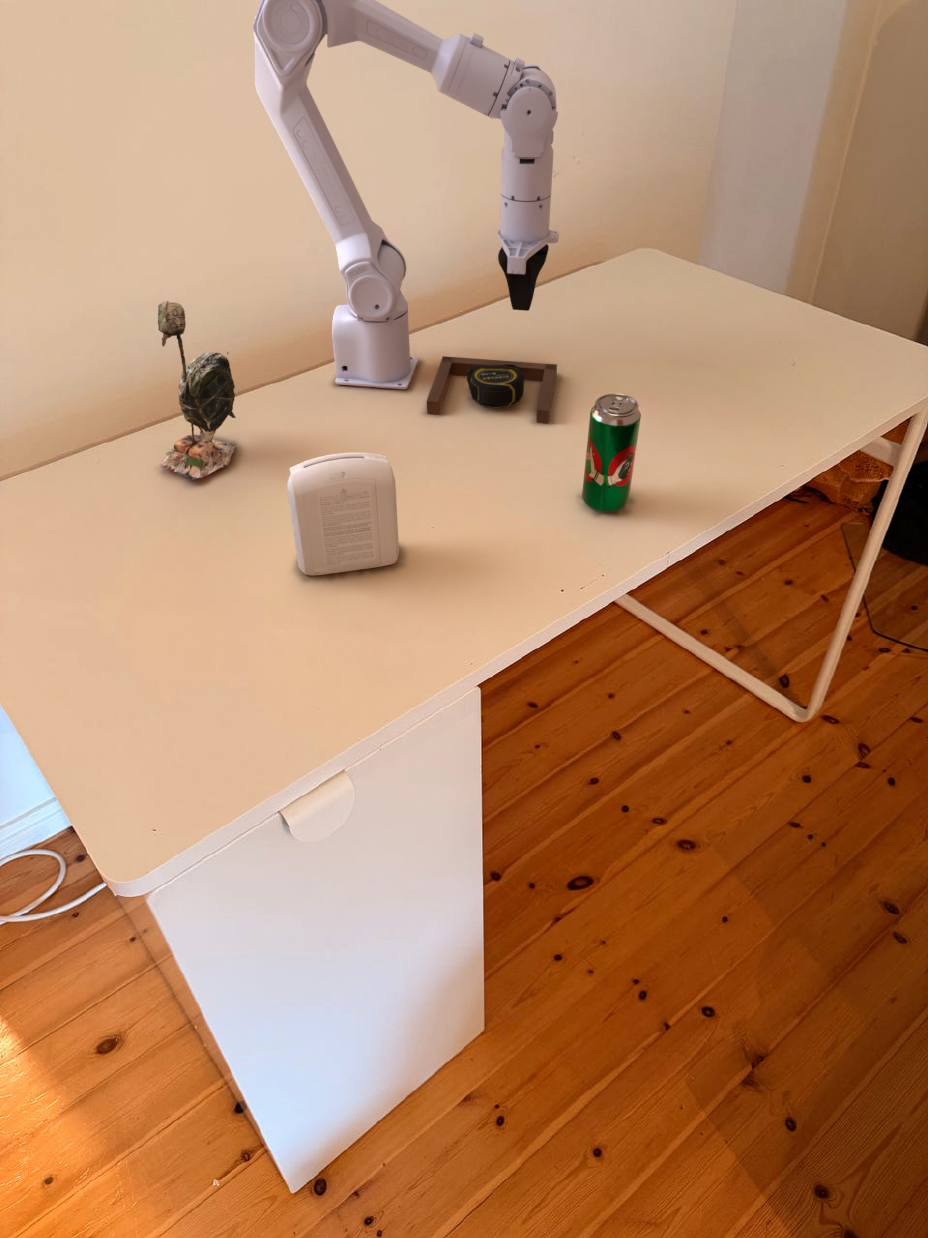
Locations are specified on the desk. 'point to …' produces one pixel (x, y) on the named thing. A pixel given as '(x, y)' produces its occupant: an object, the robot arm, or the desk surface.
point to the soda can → (610, 452)
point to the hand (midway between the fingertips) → (521, 307)
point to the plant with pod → (199, 402)
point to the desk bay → (461, 365)
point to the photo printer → (343, 513)
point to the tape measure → (495, 385)
